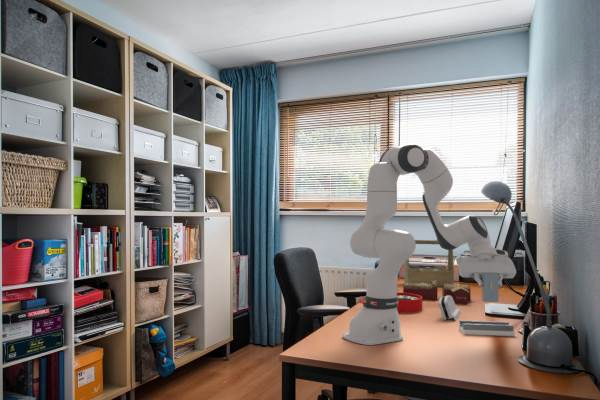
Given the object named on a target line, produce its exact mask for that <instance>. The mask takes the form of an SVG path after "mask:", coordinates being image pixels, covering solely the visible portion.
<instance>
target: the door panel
mask: <svg viewBox="0 0 600 400" xmlns="http://www.w3.org/2000/svg"><path fill="white" fill-rule="evenodd" d="M481 280H483V281H484V286H481V288H482V289H481V292H482V296H481V299H482V302H484V303H500V302H499V287H498V275H497V274H482V278H481Z"/></svg>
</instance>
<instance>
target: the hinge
mask: <svg viewBox="0 0 600 400" xmlns="http://www.w3.org/2000/svg"><path fill="white" fill-rule="evenodd" d="M456 305H457V304H455V303H454V300H453V298H452V296H450V295H448V296H443V297H440V298H439V300H438V307H439V310H440V312H441V316H442V318H443V320H444V321H446V320H448V319H453V320H454V321H455V322H456V321H457V320H458V319H459V318H460V316H461V315H462V312H461V309H459V308H457V306H456Z"/></svg>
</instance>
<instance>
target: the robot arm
mask: <svg viewBox="0 0 600 400" xmlns="http://www.w3.org/2000/svg"><path fill="white" fill-rule="evenodd" d="M413 173H414V174H415V175H416V176H417V178H418V179H419V182H420V183H422V186H423V190H424V193H423V195H422V202H423V203H422V204H423V206H424V208H425V211H426V213H427V216H428V219H429V221H430V223H431V225H432V229H433V231H434V233H435V237H436V240H437V241H438V243H439V244H438V245H439V246H440V248H442V249H444V250H447V251H448V250H450V251H452V250H453V251H454V250H455V249H457V248H459V247H461V246H464V245H466V244H467V247H468V248H469V255H459V256H457V257H456V259H455V262H456V264H457V265H458V275H459V276H460V277H462V278H473V280H474V281H476V283H477V284H478V286H479V287H482V286H484V281H483V280H482V274H497V275H498V288H502V287H503V282H502V281H503V279H514V277H515V276H516V274H517V269H516V266H515V264H514V262H513V260H512V259H511V258H510V257H509V253H508V251H506V250H503V249H499V248H496V247H493V245H492V244H491V241H492V240H491V237H490V234H489V232H488V228H487V226H486V224H485V222H484V220H482V218H480V217H478V216H477V215H474V214H469V215H467V216H464V217H462V218H460V219H457V220H456V221H453V222H451V223H449V224H445V223H444V221H443V218H442V216H441V214H440V212H439V209H438V206H439V204H440V202H441V201H442V200H443V199H444V198H446V196H447V195H448V194H449V193H450V191H451V190H452V187H453V184H454V181H453V180H454V179H453V176H452V174H451V172H450V170H449V168H448V167H447V166H446V164H445V162H444V160H442V159H441V157H440V156H439V154H437V153H436V151H434V150H433V149H431V148H422V147H421V146H420V145H417V144H416V143H415V144H414V143H408V144H404V145H398V146H394V147H393V148H389V149H387V150H385V151H384V152H383V153H382V155H381V156H380V159H379V161H378V162H376V163H374V164H372V166H370V167H369V171H368V177H367V184H366V185H367V186H366V208H365V209H366V211H365V216H364V218H363V220H362V223H361V225H360V226H359V227H358V228H357V229H356V230H355V231H353V233H352V234H351V236H350V239H349V240H350V243H349V245H350V248H351V249H350V250H351V251H352V253H354V254H355V255H357V256H361V257H364V258H368V259H379V261H378V262H379V263H378V265H377V267H376V268H374V269H372V270H370V271H369V273H368V274H367V275H366V295H365V297H364V298H363V297H359V298H358V303H359V304H362V305H363V306H362V308H360V309H359V311H358V312H357V313H356V314H355V315H354V316H353V317H352V318H351V319H350V322H349V328H348V331H347V332H344V333H343V334H342V338H344V340H347V341H349V342H353V343H356V344H361V345H365V346H373V345H374V346H375V345H381V344H388V343H393V342H400V341H403V340H404V337H403V335H402V332H401V320H400V314H399V312H398V311H397V307H398V297H397V292H398V291H397V289H398V278H399V274H400V270H401V268H402V266H403V265H405V261H406V260H408V259H409V260H410V259H411V257H412V256H413V255H414V253H415V251H416V246H417V244H416V243H415V240H416V239H415V238H414V236H413V235H412V233H411V232H409V231H404V230H400V229H385V225H386V222H387V221H389V220H390V219H392V218H393V217H394V216H395V215H396V213H397V211H398V186H397V184H398V180H399V177H400V176H405V175H408V174H413Z"/></svg>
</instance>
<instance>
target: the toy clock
mask: <svg viewBox="0 0 600 400" xmlns="http://www.w3.org/2000/svg"><path fill="white" fill-rule="evenodd" d="M397 297H398V307H397V311H398V313H419V312H421V311H423V299H422V296H420V295H416V294H411V293H403V292H399V291H397Z"/></svg>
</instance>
